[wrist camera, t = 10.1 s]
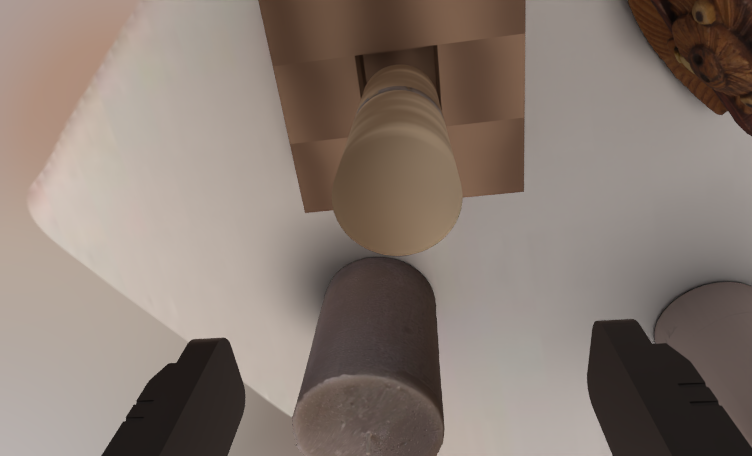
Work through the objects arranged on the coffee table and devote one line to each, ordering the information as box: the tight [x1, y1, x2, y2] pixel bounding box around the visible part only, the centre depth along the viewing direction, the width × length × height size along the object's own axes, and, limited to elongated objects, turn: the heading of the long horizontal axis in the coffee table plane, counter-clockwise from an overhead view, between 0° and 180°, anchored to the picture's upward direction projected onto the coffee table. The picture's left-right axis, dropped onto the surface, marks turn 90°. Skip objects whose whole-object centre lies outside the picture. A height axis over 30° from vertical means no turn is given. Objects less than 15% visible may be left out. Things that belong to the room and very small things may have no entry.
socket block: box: [258, 0, 525, 213], centre depth 31 cm, size 14×14×6 cm
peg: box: [332, 64, 462, 256], centre depth 20 cm, size 4×4×12 cm
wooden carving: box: [628, 0, 752, 136], centre depth 27 cm, size 16×5×10 cm, turn 50°
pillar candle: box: [292, 257, 444, 456], centre depth 36 cm, size 10×10×15 cm
